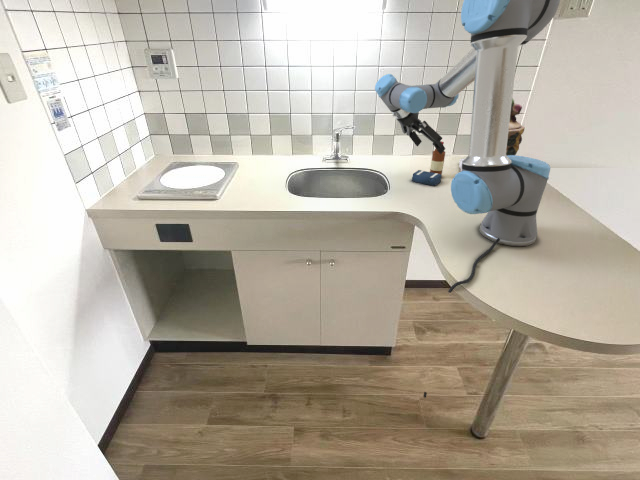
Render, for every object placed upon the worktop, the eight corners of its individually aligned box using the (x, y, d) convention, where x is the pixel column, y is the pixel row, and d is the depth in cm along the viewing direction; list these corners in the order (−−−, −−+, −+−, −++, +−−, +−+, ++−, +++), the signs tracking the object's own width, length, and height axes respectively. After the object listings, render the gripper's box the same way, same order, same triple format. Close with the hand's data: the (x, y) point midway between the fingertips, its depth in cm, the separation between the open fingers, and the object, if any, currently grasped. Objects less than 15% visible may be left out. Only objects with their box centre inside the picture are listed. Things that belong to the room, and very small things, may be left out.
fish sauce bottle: (438, 179, 147) (444, 144, 139) (427, 177, 149) (432, 142, 142) (443, 176, 150) (449, 141, 143) (431, 174, 153) (437, 139, 145)
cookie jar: (459, 180, 146) (475, 98, 130) (458, 162, 166) (471, 90, 151) (524, 185, 139) (549, 100, 124) (515, 167, 160) (535, 92, 144)
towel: (433, 187, 139) (434, 179, 138) (410, 182, 145) (411, 174, 143) (440, 181, 145) (441, 174, 143) (417, 177, 150) (418, 169, 148)
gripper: (378, 114, 138) (404, 147, 151) (421, 126, 118) (447, 162, 131) (390, 99, 137) (416, 133, 150) (435, 108, 118) (459, 146, 131)
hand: (430, 147), depth 141 cm, fingers open, 13 cm apart
